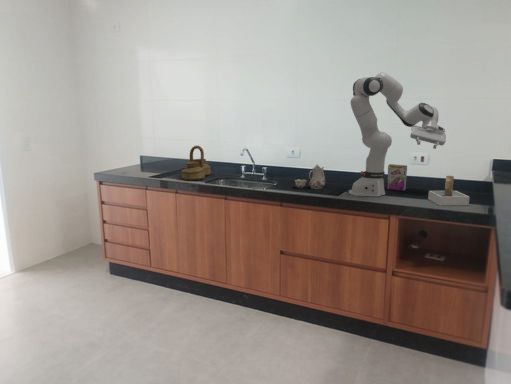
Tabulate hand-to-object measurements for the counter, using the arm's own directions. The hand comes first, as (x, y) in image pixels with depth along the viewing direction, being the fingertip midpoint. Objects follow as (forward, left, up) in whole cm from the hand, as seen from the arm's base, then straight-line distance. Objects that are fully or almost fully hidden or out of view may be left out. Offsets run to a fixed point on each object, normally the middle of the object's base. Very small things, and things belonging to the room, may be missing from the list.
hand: (426, 146), depth 248 cm
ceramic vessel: (-149, +70, -31) cm, 168 cm away
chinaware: (-63, +29, -31) cm, 76 cm away
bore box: (+8, -17, -30) cm, 36 cm away
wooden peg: (+8, -17, -30) cm, 35 cm away
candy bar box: (-10, +19, -31) cm, 38 cm away
